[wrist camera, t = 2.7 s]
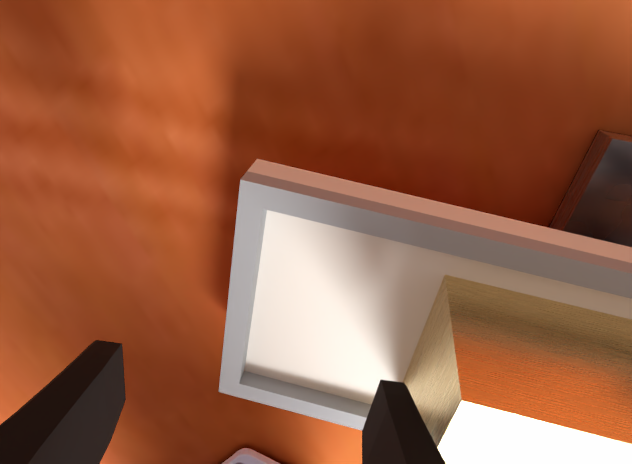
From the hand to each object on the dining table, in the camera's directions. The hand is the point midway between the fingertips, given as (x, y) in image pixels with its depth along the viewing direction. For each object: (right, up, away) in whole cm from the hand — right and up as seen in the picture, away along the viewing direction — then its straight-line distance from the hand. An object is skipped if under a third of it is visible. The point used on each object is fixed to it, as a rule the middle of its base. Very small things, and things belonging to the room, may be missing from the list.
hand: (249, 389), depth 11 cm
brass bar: (+9, 0, +3) cm, 9 cm away
